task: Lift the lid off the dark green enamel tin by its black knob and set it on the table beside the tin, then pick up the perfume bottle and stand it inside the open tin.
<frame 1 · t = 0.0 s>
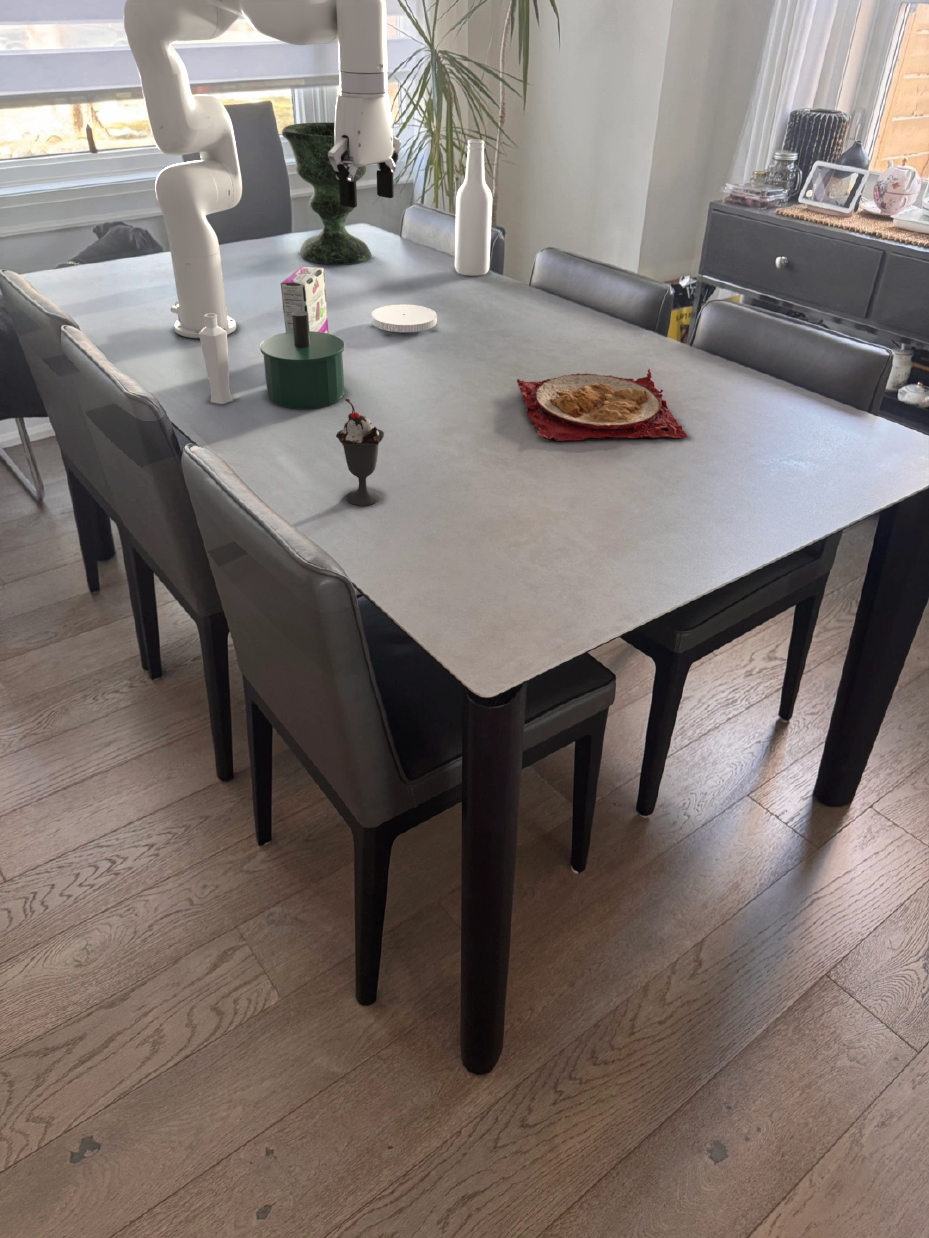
hand: (367, 201, 154), 31 cm above the table, tool pointing down, fingers open, 9 cm apart
perfume bottle: (222, 400, 163), on the table
lid: (302, 348, 161), point 8 cm above the table, touching tin
alcohol: (471, 272, 234), on the table
plastic lid: (404, 327, 198), on the table
candy bar box: (309, 361, 180), on the table
plate with food: (598, 413, 164), on the table
goblet: (335, 257, 242), on the table
tin: (306, 394, 166), on the table
sundae: (362, 499, 135), on the table
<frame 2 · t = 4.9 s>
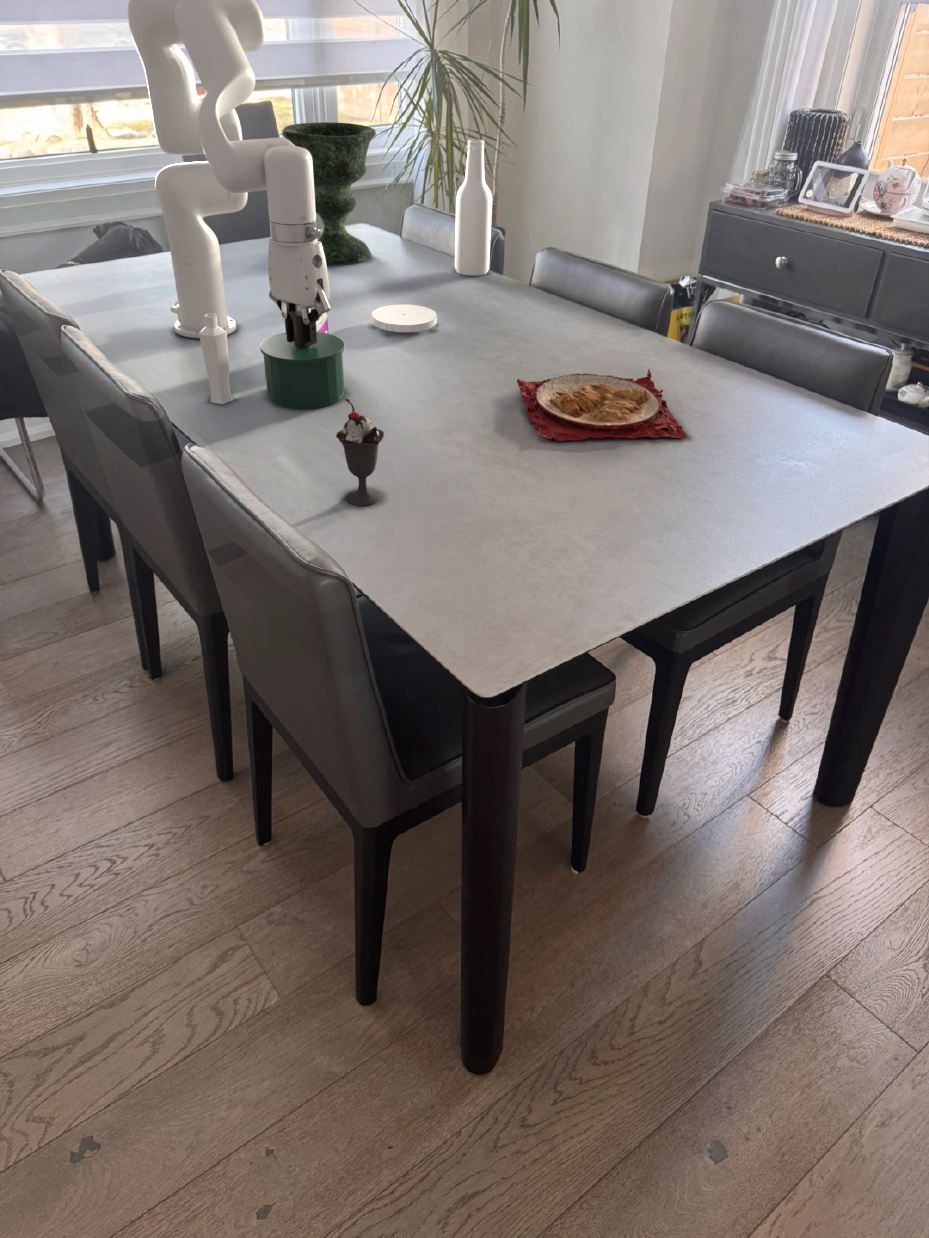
hand: (302, 341, 160), 10 cm above the table, tool pointing down, fingers closed on lid, 2 cm apart
lid: (302, 348, 161), point 9 cm above the table, touching gripper, tin
everything else where it was.
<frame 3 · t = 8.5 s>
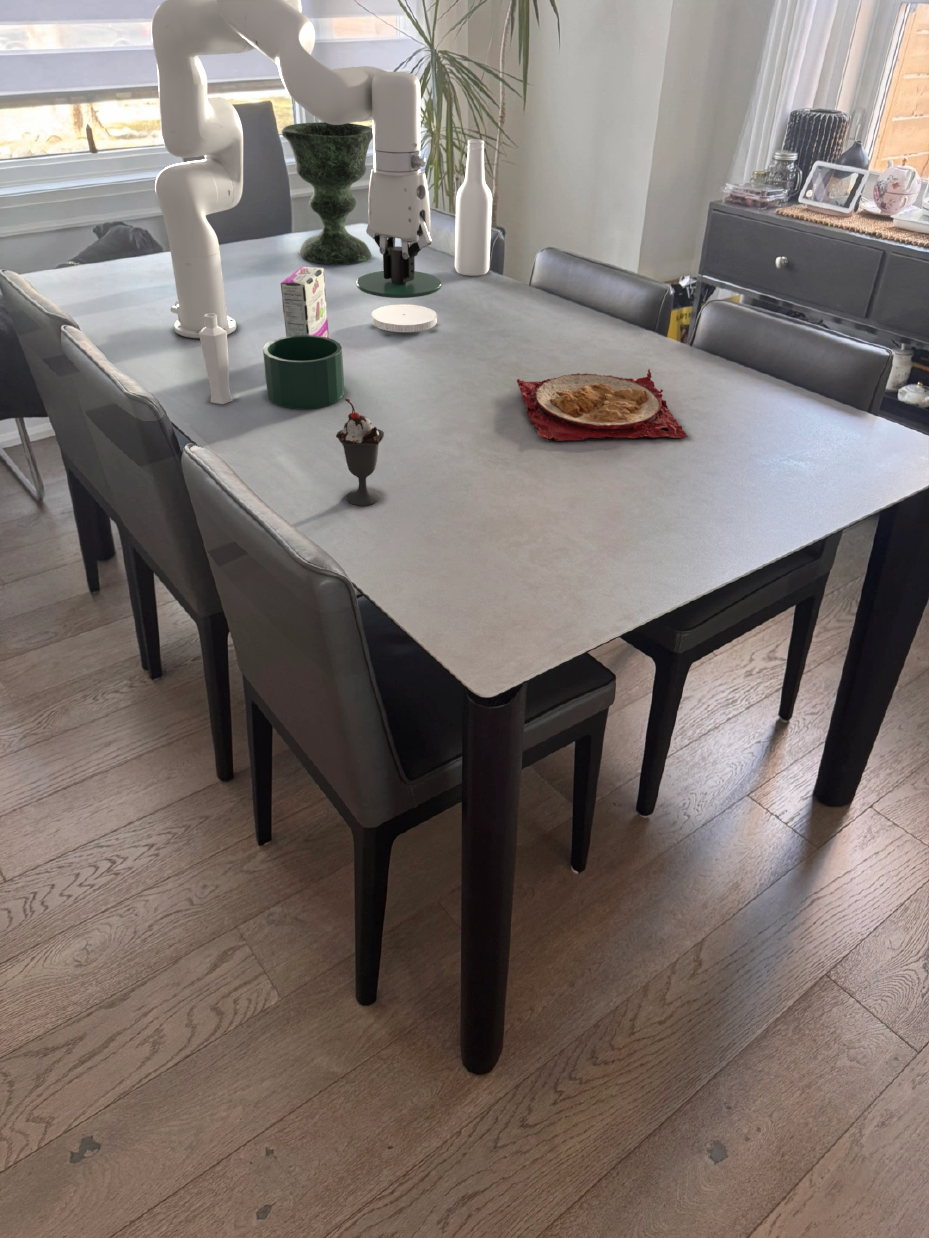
hand: (399, 278, 158), 20 cm above the table, tool pointing down, fingers closed on lid, 2 cm apart
lid: (399, 285, 159), point 19 cm above the table, touching gripper
everything else where it was.
when the fingers open (2 cm above the table, at t = 12.0 s): lid stays where it is, point 1 cm above the table.
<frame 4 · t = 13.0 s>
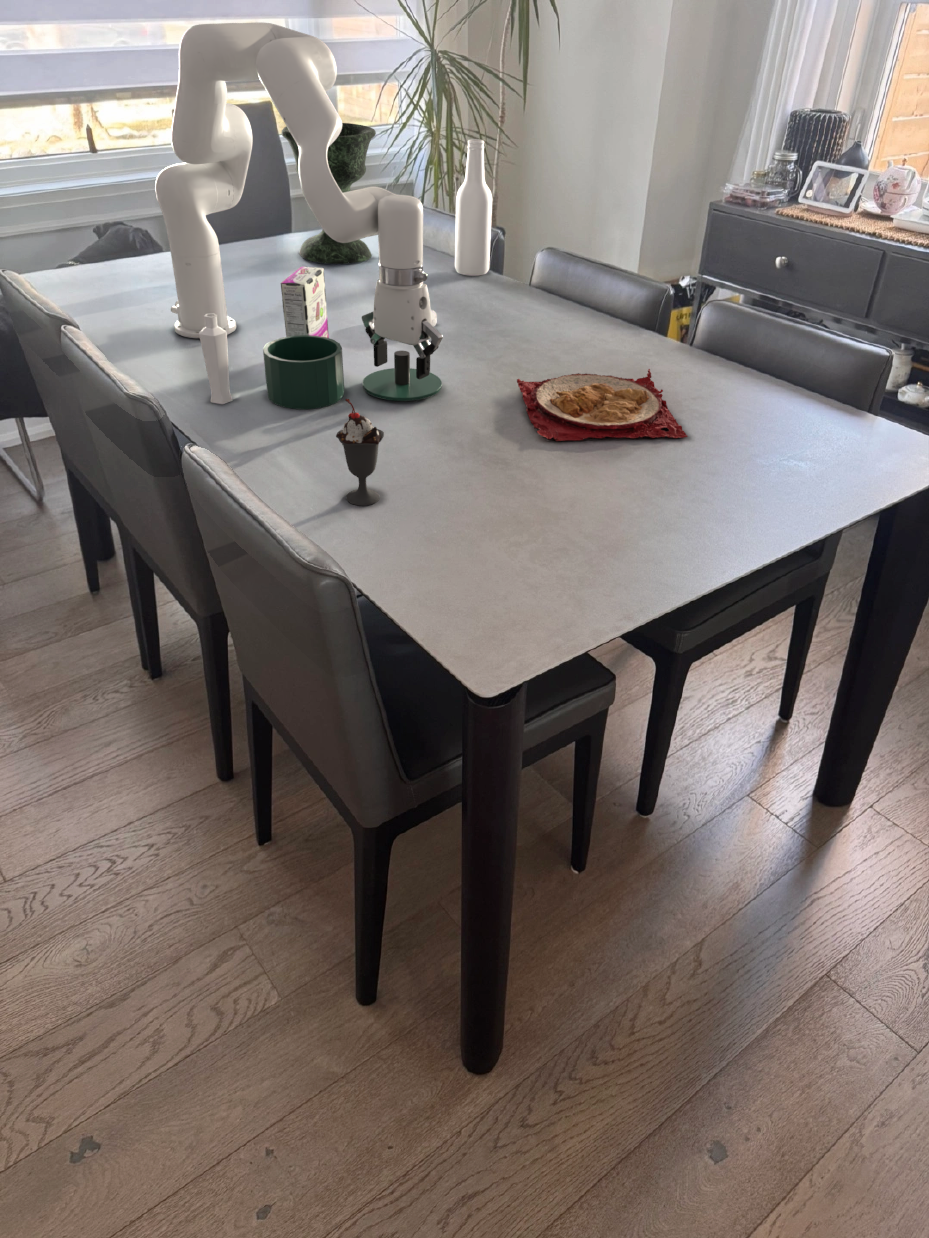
hand: (401, 370, 168), 3 cm above the table, tool pointing down, fingers open, 9 cm apart
lid: (402, 385, 169), point 1 cm above the table
everything else where it was.
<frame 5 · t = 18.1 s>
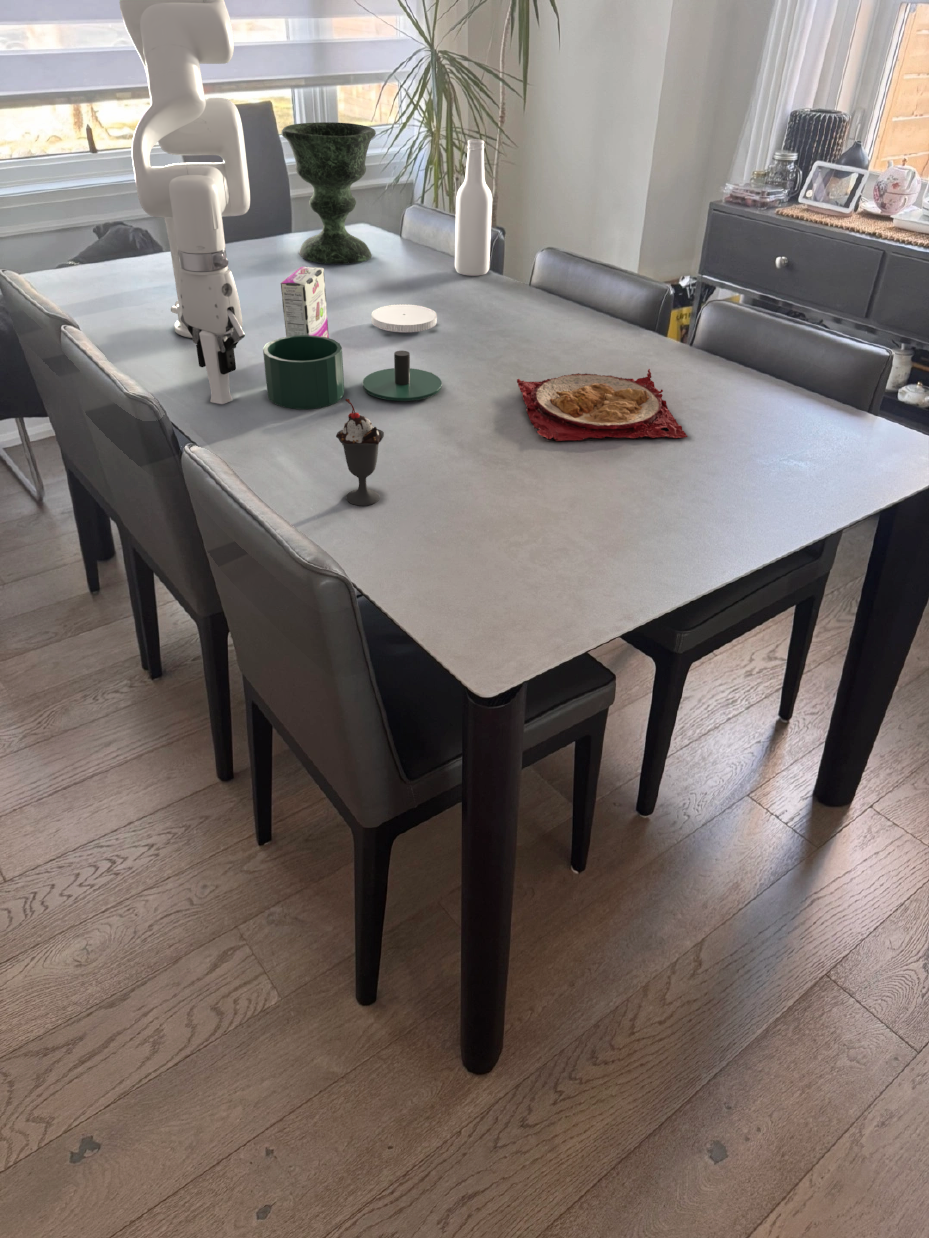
hand: (217, 367, 160), 6 cm above the table, tool pointing down, fingers closed on perfume bottle, 4 cm apart
perfume bottle: (222, 400, 163), on the table, touching gripper
everything else where it was.
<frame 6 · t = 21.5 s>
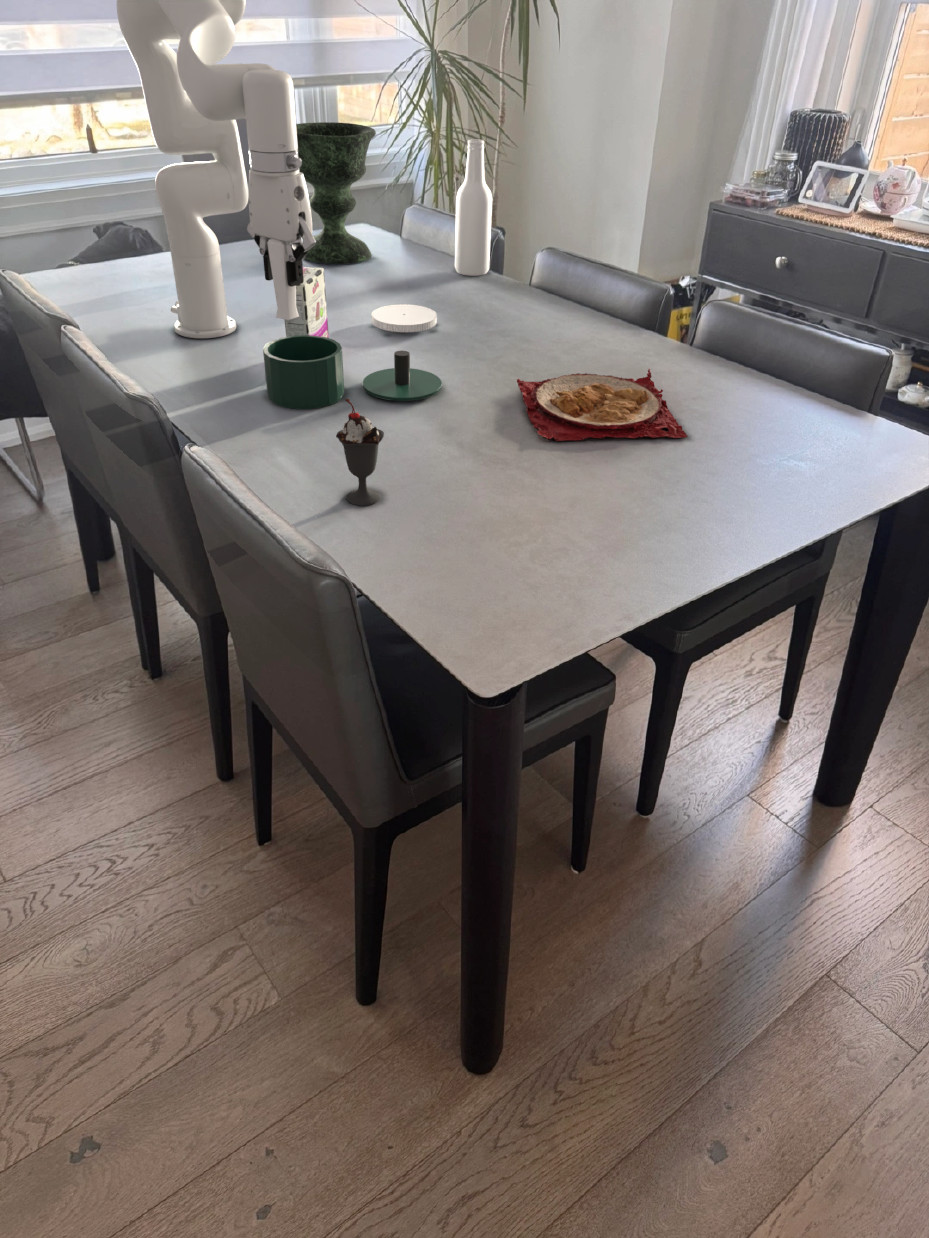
hand: (284, 280, 154), 20 cm above the table, tool pointing down, fingers closed on perfume bottle, 4 cm apart
perfume bottle: (287, 316, 157), point 14 cm above the table, touching gripper
everything else where it was.
when the fingers open (6 cm above the table, at t = 25.1 s): perfume bottle stays where it is, resting on tin.
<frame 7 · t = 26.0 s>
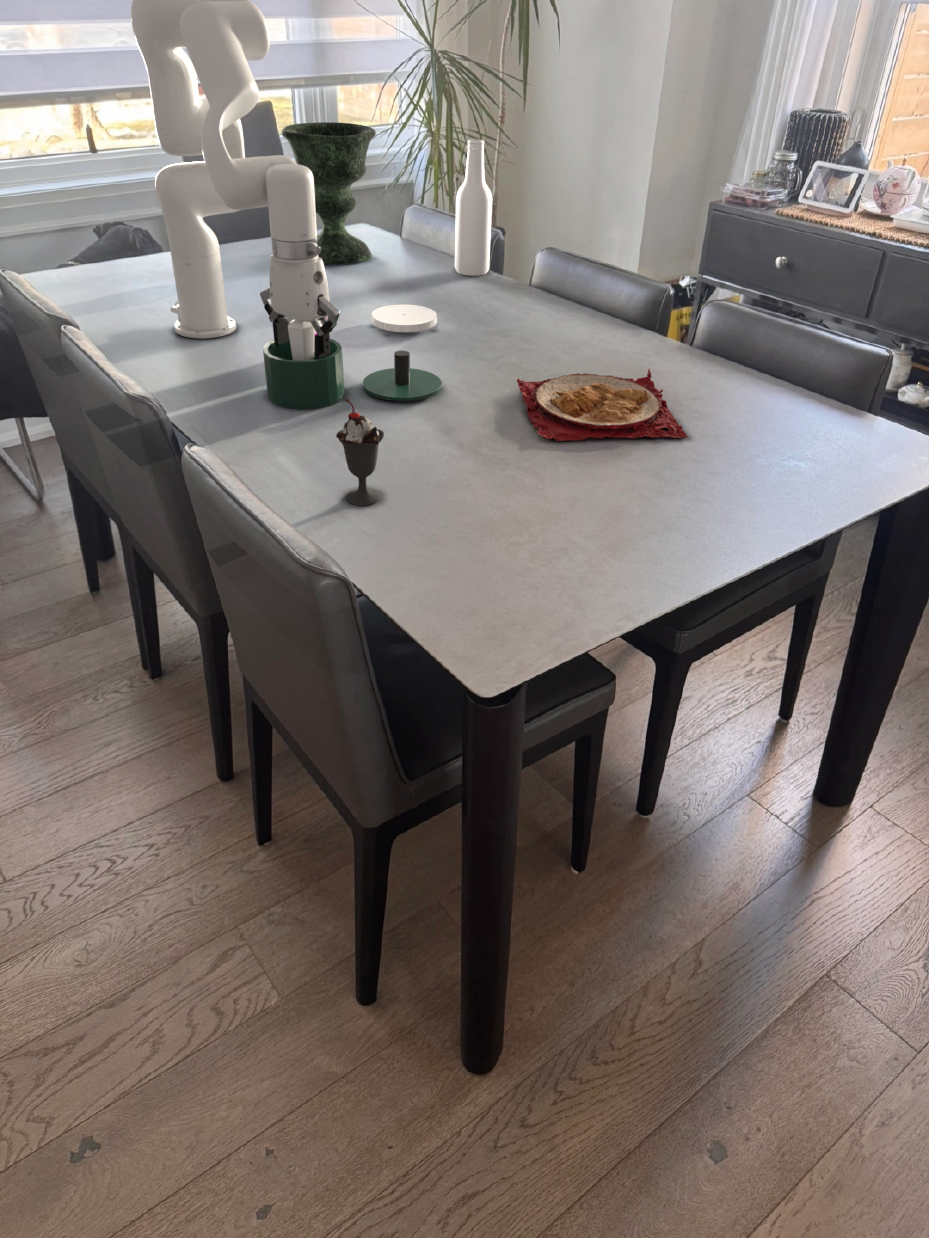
hand: (302, 349, 161), 8 cm above the table, tool pointing down, fingers open, 9 cm apart
perfume bottle: (306, 392, 166), resting on tin
everything else where it was.
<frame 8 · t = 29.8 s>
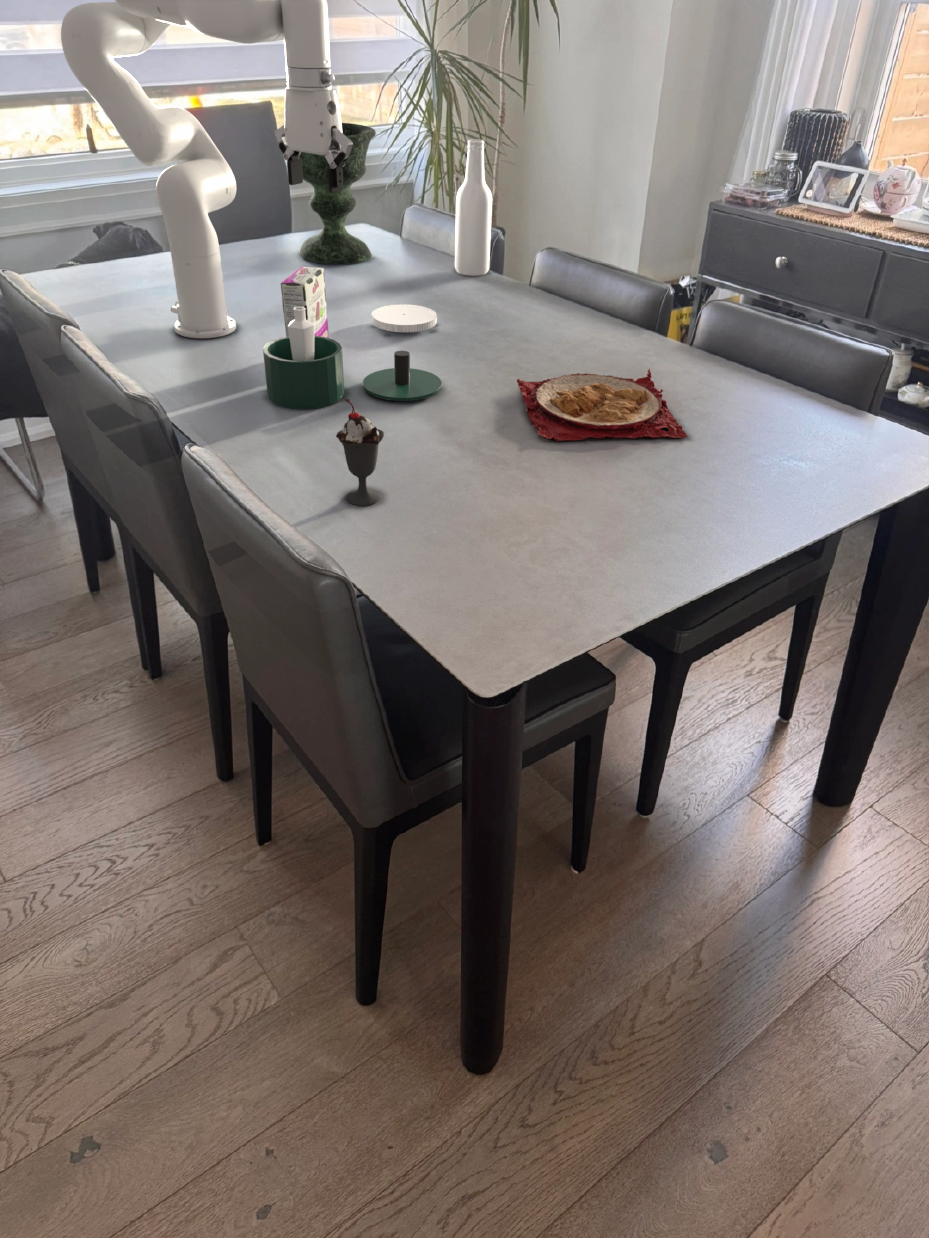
hand: (315, 187, 167), 30 cm above the table, tool pointing down, fingers open, 9 cm apart
nothing on the table moved.
at the end: lid inside the target area (0.0 cm from its centre), point 0.6 cm above the table; perfume bottle inside the target area in the tin (0.0 cm from its centre), point 0.3 cm above the tin's base; perfume bottle tilted 0° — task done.
